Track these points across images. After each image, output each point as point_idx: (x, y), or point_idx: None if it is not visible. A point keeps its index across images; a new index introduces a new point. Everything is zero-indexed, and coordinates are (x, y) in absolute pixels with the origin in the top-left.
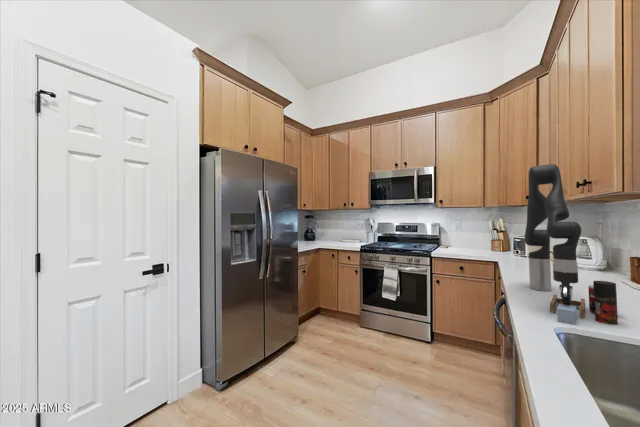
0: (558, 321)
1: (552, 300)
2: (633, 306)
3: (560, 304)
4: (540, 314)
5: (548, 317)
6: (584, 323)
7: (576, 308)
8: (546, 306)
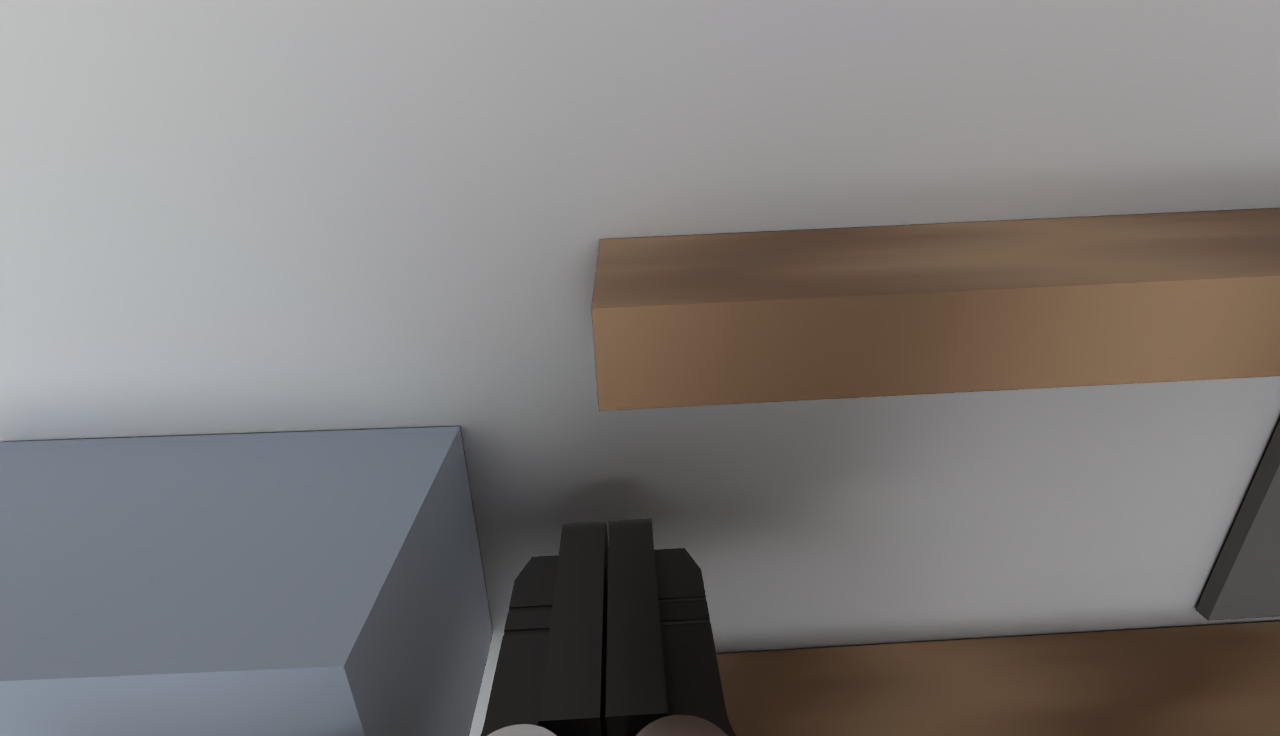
0: (7, 452)
1: (1215, 314)
2: None
3: (242, 702)
4: (177, 70)
5: (103, 267)
6: None
7: (1221, 584)
8: (1162, 85)
